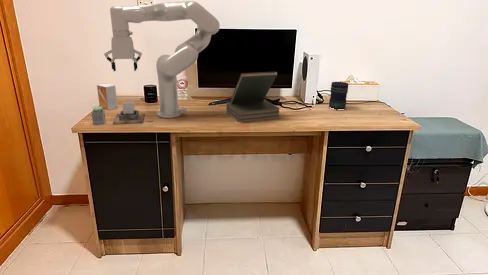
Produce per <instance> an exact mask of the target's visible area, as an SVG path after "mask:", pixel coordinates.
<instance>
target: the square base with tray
mask: <svg viewBox="0 0 488 275" xmlns="http://www.w3.org/2000/svg"><path fill="white" fill-rule="evenodd" d="M139 112H140V111H139V110H135V115H123V110H121V111H120V113H117V114H116V116H115V118H114V120H113V122H112V124H113V125H127V124H128V125H129V124H130V125H133V124H134V125H135V124H138V125H139V124H143V123H144V119H145V116H146V114H145V112H141V113H139Z"/></svg>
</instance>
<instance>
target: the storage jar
mask: <svg viewBox="0 0 488 275" xmlns="http://www.w3.org/2000/svg"><path fill="white" fill-rule="evenodd" d="M348 91H349V83H348V82H345V81H344V82H343V81H332V82H331V85H330V96H329V97H330V98H329V101H328V108H329V107H331V108H334V109H344V108H345V109H346V107H347V106H346V105H347V96H348V93H349V92H348Z"/></svg>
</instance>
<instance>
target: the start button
mask: <svg viewBox="0 0 488 275" xmlns="http://www.w3.org/2000/svg"><path fill="white" fill-rule="evenodd" d="M102 109H104V108H102V107H101V106H97V105H96V106H93V107H92V111H93V110H94V111H95V112H101V110H102Z"/></svg>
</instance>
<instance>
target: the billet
mask: <svg viewBox="0 0 488 275" xmlns="http://www.w3.org/2000/svg"><path fill="white" fill-rule="evenodd" d="M122 111H123V115H135V101H134V100H128V101H126V100H124V101H123V102H122Z"/></svg>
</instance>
